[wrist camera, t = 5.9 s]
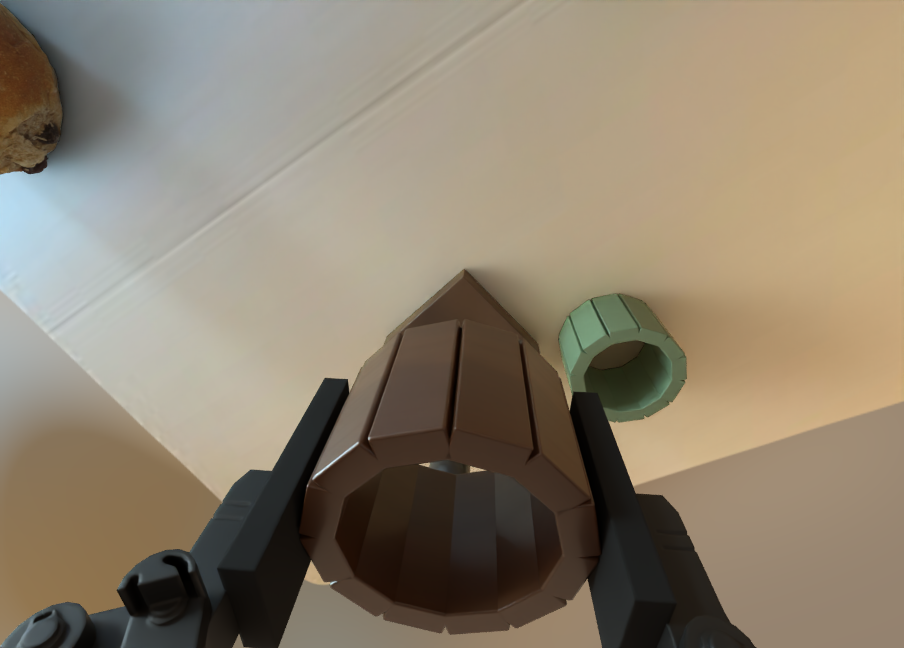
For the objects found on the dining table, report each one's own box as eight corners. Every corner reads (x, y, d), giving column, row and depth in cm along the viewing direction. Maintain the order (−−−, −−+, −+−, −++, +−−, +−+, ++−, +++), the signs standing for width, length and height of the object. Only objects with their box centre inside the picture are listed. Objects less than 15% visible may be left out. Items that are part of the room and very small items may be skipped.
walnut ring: (463, 275, 13) (450, 370, 8) (608, 422, 15) (661, 562, 10) (313, 406, 15) (242, 532, 11) (455, 516, 17) (444, 663, 13)
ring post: (464, 268, 31) (448, 395, 18) (538, 343, 33) (572, 504, 20) (386, 336, 34) (325, 488, 21) (459, 401, 36) (445, 574, 23)
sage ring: (621, 274, 30) (645, 306, 26) (678, 342, 32) (708, 382, 28) (539, 335, 33) (548, 373, 28) (596, 394, 35) (613, 438, 30)
